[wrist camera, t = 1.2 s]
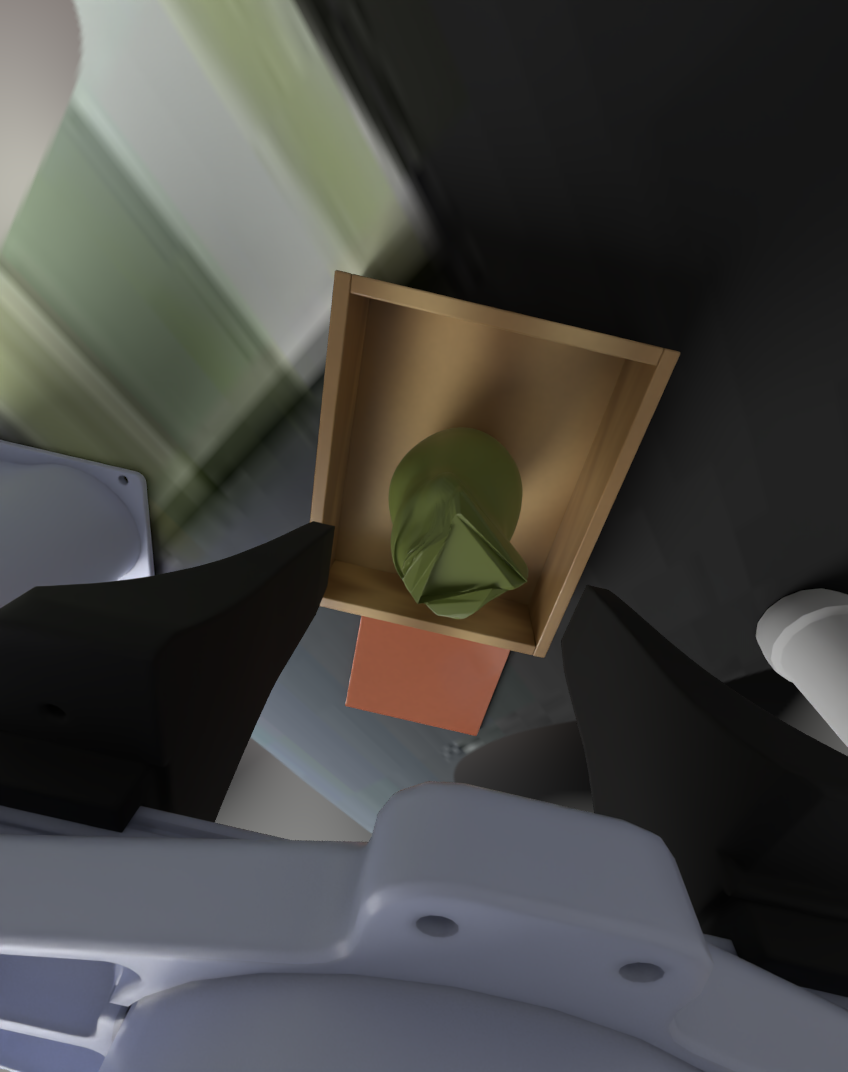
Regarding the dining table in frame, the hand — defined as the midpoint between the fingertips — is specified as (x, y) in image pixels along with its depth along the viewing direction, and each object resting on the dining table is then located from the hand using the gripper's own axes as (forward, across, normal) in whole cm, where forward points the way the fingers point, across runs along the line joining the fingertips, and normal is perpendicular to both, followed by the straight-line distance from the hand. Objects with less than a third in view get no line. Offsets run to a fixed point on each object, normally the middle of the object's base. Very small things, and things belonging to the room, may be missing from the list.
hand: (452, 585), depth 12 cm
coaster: (+10, -1, +13) cm, 17 cm away
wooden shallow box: (+10, 0, 0) cm, 10 cm away
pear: (+10, 0, 0) cm, 10 cm away
